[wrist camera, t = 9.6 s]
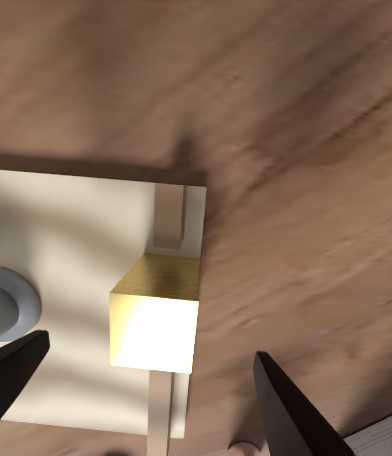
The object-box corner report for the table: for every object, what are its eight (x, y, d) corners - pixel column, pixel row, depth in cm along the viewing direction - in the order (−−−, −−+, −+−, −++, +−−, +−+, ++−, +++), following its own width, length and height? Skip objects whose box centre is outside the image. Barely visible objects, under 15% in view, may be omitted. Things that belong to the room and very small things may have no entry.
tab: (194, 307, 14) (190, 373, 9) (142, 302, 14) (110, 364, 9) (199, 258, 13) (198, 301, 8) (144, 252, 13) (109, 292, 8)
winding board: (184, 422, 18) (180, 480, 15) (-12, 402, 18) (-64, 454, 15) (206, 187, 13) (207, 187, 9) (-68, 164, 13) (-168, 156, 10)
